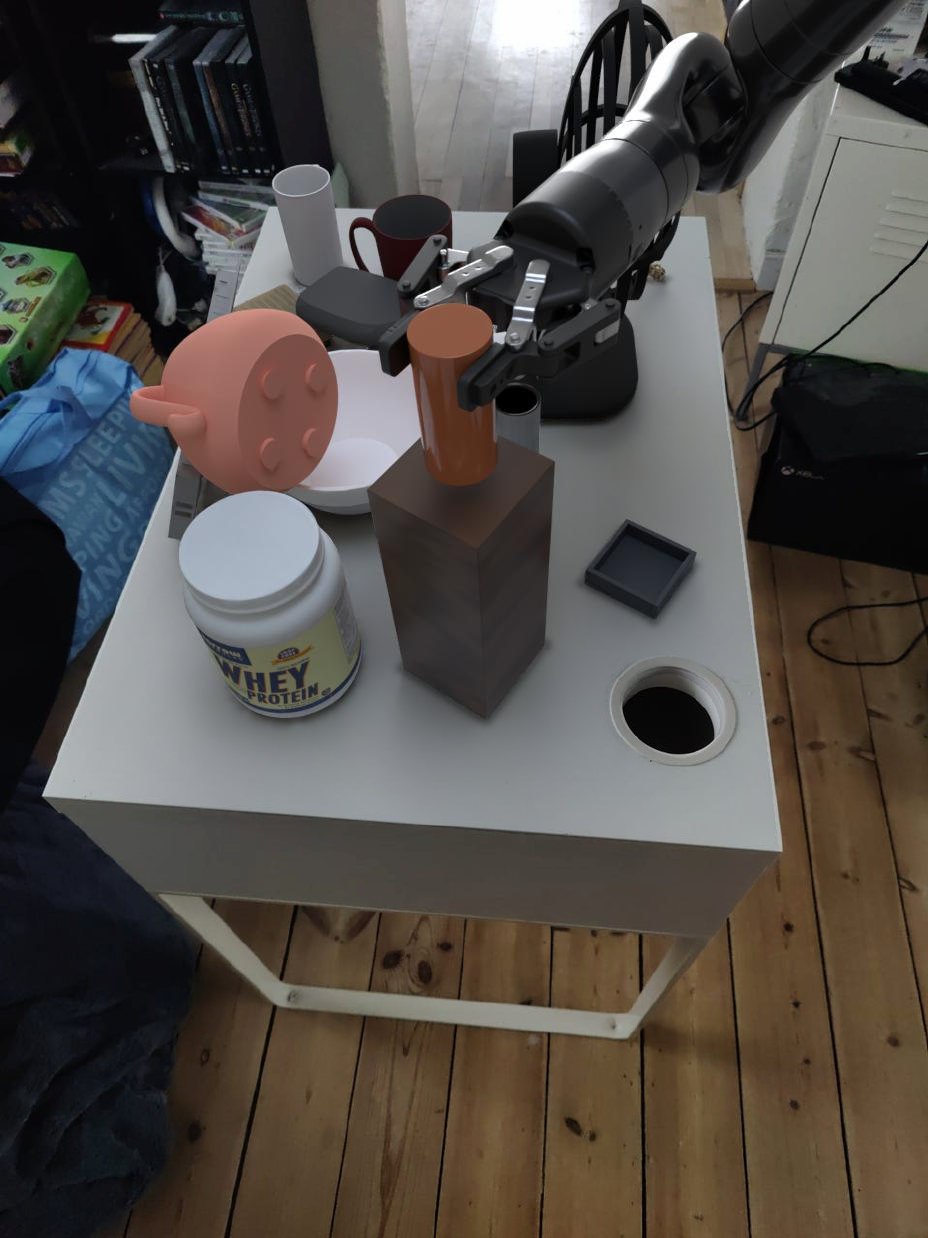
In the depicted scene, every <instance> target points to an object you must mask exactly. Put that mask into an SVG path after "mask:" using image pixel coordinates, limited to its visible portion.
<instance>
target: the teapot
mask: <svg viewBox="0 0 928 1238" xmlns="http://www.w3.org/2000/svg"><path fill="white" fill-rule="evenodd" d="M206 323H207V322H206ZM206 323H205V324H203V325H202V326H200V327H199V328H197V329H196V330H194V331H193V332H191V333H190V334H189V335H187V336H186V337H185V338H183V340H181V342H180V343H178V345H177V346H176V347H175V348H174V349H173V351H172V352H171V353H170V355H169V357H168V359H167V361H166V363H165V365H164V368H163V371H162V376H161V380H160V385H153V386H152V385H150V386H145V387H141V388H138V389H136V390H134V391H133V392H132V393H131V394H130V397H129V410H130V413H131V414H132V416H133V418H134V419H135V420H137V421H139V422H141V423H145V424H148V425H153V426H159V427H165V428H168V431H169V433H170V434H171V436H172V437H173V439H174V441H175V442H176V445H177V446H178V448H179V449H180V452H181V451H182V452H183V454H184V455H185V456H186V458H187V459H188V460H189V462H190V463H191V464H192V465H193V466H194V467H195V468H196V469H197V470H198V471H199V472H200V473H201V474H202V475H203V478H205V479H207V480H208V481H209V482H210V483H212V484H213V485H215V486H216V487H218V488H219V489H222V490H223V491H225V492H226V493H228V494H230V495H235V494H239V493H243V492H250V491H272V492H278V493H282V494H286V493H285V492H286V491H288V490H290V489H291V488H293V487H295V486H296V485H298V484H299V483H300V482H302V481H303V480H304V479H306V478H307V477H308V476H309V475H310V474H311V473H312V472H313V471H314V469H315V468H316V467H317V466H318V464H319V463H320V461H321V459H322V458H323V456H324V454H325V452H326V450H327V448H328V446H329V443H330V441H331V438H332V435H333V431H334V427H335V423H336V418H337V410H338V384H337V378H336V373H335V369H334V366H333V363H332V361H331V359H330V356H329V354H328V352H329V351H328V350H326V348H325V346H324V345H323V343H322V341H321V340H320V338H319V337H318V335H317V334H316V332H315V331H314V330H313V329H312V328H311V326H310V325H309V324H307V323H306V322H305V321H303V320H302V319H301V318H299V317H298V316H296V315H294V314H292V313H289V312H286V311H282V310H276V309H250V310H243V311H236V312H233V313H230V314H226V315H224V316H221V317H218V318H216V319H214V320H212V321H210V322H209V323H207V324H206Z"/></svg>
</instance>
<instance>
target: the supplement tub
mask: <svg viewBox="0 0 928 1238" xmlns="http://www.w3.org/2000/svg"><path fill="white" fill-rule="evenodd" d="M177 556H178V557H177V558H178V564H179V568H180V570H181V573H182V583H181V585H182V586H181V591H182V599H183V604H184V606H185V609H186V612H187V614H188V616H189V618H190V620H191V621H192V623H193V624H194V625H195V627H196V629H197V631H198V633H199V636H201V637H200V638H201V639H202V640H203V642H204V644H205V646H206V647H207V649H208V651H209V653H210V655H211V657H212V659H213V661H214V663H215V664H216V667H217V668H218V670H219V671H220V674H221V675H222V677H223V679H224V680H225V683H226V685H227V688H228V689H229V691H230V693H232V695H233V696H234V697H235V698H236V699H237V701H239V702H240V703H241V704H242V705H243V706H245V707H246V708H247V709H249V710H251V711H252V712H255V713H256V714H257V713H258V714H260V715H263V716H266V717H271V718H278V719H291V718H292V719H293V718H299V717H303V716H304V717H305V716H308V715H312V714H313V713H316V712H318V711H319V712H320V711H321V710H324V709H325V708H327V707H329V706H330V705H332V704H334V703H335V702H336V701H337V700H338V699H340V698H341V697H342V696H343V695H344V694H345V693H346V691H347V690H348V689H349V688H350V686H351V685H352V684H353V682H354V680H355V678H356V676H357V674H358V671H359V669H360V666H361V661H362V654H363V643H362V642H363V641H362V635H361V632H360V629H359V626H358V623H357V617H356V614H355V611H354V606H353V603H352V599H351V595H350V592H349V591H350V590H349V587H348V584H347V579H346V576H345V572H344V568H343V562H342V559H341V555H340V553H339V550H338V549H337V547H336V545H335V543H334V541H333V540H332V539H331V537H330V536H329V535H328V533H326V532H325V531H324V529H322V528H321V527H320V525H319V524H318V522H317V520H316V517H315V515H314V514H313V512H312V511H311V510H310V509H309V507H307V506H306V505H305V503H303V502H302V501H300V500H298V499H296V498H294V497H292V496H291V495H289V494H286V493H283V494H282V493H278V492H272V491H250V492H243V493H239V494H235V495H233V494H231V495H229V496H227V497H224V498H222V499H219V500H218V501H215V502H214V503H212V504H211V505H209V506H208V507H206V508H205V509H204V510H202V511H201V512H200V513H199V514H197V516H195V519H194V520H193V521H192V522H191V523H190V525H189V526H188V528H187V529H186V531H185V533H184V535H183V537H182V539H181V540H180V542H179V547H178V555H177Z"/></svg>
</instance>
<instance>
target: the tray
mask: <svg viewBox="0 0 928 1238" xmlns="http://www.w3.org/2000/svg"><path fill="white" fill-rule="evenodd" d="M697 554H698V553H697V551H695V550H693V549H691V548H689V547H687V546H685V545H684V544H681V543H679V542H677V541H675V540H672V539H671V538H668V537H667V536H664V535H662V534H660V533H658V532H656V531H654V530H652V529H649V528H647V527H645V526H644V525H641V524H639V523H637V522H635V521H633V520H631V519H629V518H625V519H624V521H623V522H621V525H620V526H619V527H618V528H617V529H616V530H615V532H614V533H613V535H612V536H611V537H610V539H608V541H607V542H606V544H605V545H604V546H603V547H602V549H601V550H600V551H599V552H598V553H597V555H596V556H595V557H594V559H593V560H592V562H590V564H589V565H588V566H587V568H586V569H585V574H584V584H586V585H588V586H590V587H592V588H593V589H596V590H597V591H599V592H601V593H603V594H605V595H607V596H609V597H611V598H613V599H615V600H617V601H618V602H620V603H622V604H624V605H627V606H628V607H630V608H632V609H634V610H636V611H638V612H640V613H642V614H644V615H645V616H648V617H649V618H651V619H653V620H656V618H657V617H658V616H659V615H660V613H661V611H662V610H663V609H664V608H665V607H666V604H667V603H668V602H669V600H670V599H671V598H672V596H673V595H674V594H675V592H676V590H677V589H678V588H679V586H680V585H681V583H682V582H683V580H684V579H685V578H686V576H687V575H688V573H689V572H690V571H691V569H692V568H693V567H694V564H695V561H696V560H695V559H696V558H697Z"/></svg>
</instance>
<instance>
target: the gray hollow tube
mask: <svg viewBox="0 0 928 1238" xmlns="http://www.w3.org/2000/svg"><path fill="white" fill-rule="evenodd" d="M540 408H541V398H540V395H539V393H538V391H537V390H536V389H534V388H533V387H531V386H529V385H527V384H523V383H511V384H508V386H507V387H506V388H505V389H504V390H503V391H502V392H500V394H499V395H498V396H497V397H496V413H497V434H498V435H500V436H503V437H505V438H507V439H509V440H511V441H513V442H515V443H518V444H520V445H522V446H524V447H526V448H528V449H530V450H533V451H535V452H537V453H539V454H540V433H541V420H540Z"/></svg>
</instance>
